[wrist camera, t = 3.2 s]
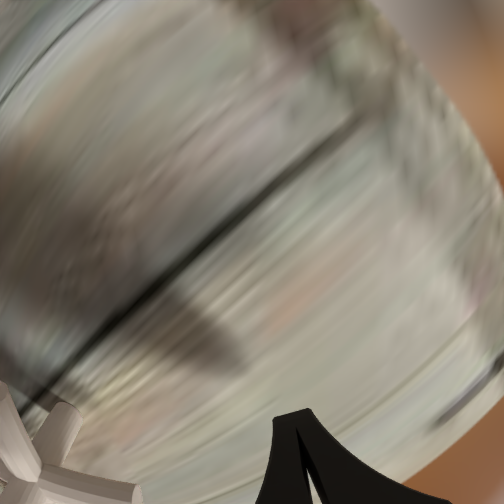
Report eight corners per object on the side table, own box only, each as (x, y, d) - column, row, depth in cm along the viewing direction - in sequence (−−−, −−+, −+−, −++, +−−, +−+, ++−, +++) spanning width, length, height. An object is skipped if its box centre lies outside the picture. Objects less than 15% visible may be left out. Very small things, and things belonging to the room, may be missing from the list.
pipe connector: (29, 451, 14) (-23, 551, 4) (-20, 322, 12) (-135, 414, 2) (165, 481, 14) (151, 618, 5) (141, 346, 12) (59, 555, 3)
